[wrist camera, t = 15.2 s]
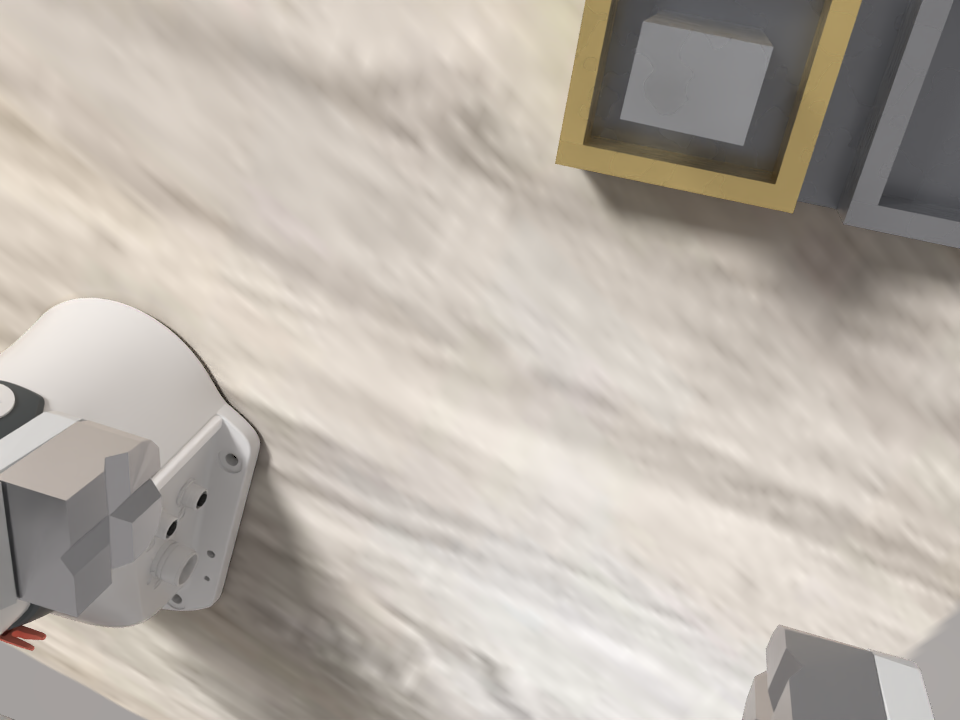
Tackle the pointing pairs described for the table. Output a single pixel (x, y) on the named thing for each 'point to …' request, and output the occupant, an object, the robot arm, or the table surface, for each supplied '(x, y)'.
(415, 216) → the table surface
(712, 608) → the table surface
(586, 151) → the double square tray
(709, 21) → the block
